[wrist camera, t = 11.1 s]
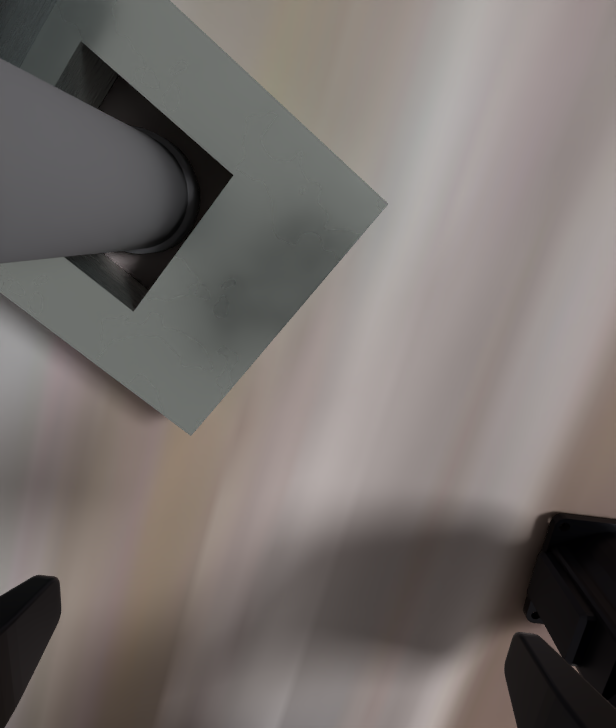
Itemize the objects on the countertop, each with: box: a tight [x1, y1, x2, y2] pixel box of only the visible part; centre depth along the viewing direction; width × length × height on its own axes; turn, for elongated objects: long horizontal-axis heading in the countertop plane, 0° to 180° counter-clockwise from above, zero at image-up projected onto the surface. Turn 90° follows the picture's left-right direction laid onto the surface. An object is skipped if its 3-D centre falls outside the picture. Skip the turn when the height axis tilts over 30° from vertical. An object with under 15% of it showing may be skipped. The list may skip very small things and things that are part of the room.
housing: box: [0, 0, 388, 436], centre depth 16 cm, size 16×12×6 cm
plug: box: [0, 58, 200, 264], centre depth 13 cm, size 5×5×13 cm
